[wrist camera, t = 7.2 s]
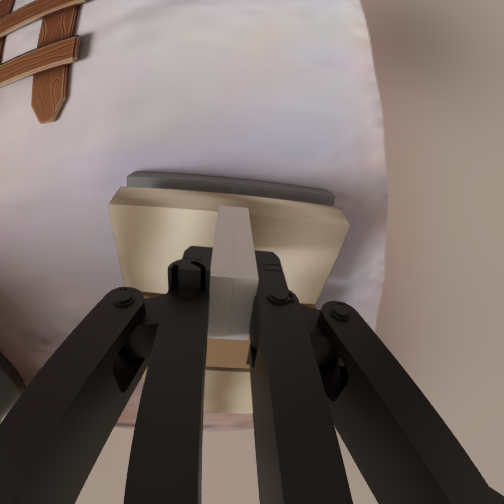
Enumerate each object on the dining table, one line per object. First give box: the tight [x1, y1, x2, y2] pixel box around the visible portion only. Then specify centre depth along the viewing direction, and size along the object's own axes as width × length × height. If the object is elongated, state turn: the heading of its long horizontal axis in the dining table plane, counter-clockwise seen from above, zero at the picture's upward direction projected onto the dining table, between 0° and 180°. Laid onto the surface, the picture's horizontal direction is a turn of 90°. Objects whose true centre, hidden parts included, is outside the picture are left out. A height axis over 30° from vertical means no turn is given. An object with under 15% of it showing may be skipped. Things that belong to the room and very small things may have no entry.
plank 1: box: [109, 187, 350, 304], centre depth 18 cm, size 14×7×2 cm, turn 82°
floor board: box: [127, 172, 335, 368], centre depth 23 cm, size 14×23×4 cm, turn 172°
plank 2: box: [142, 366, 253, 414], centre depth 25 cm, size 14×7×2 cm, turn 83°
